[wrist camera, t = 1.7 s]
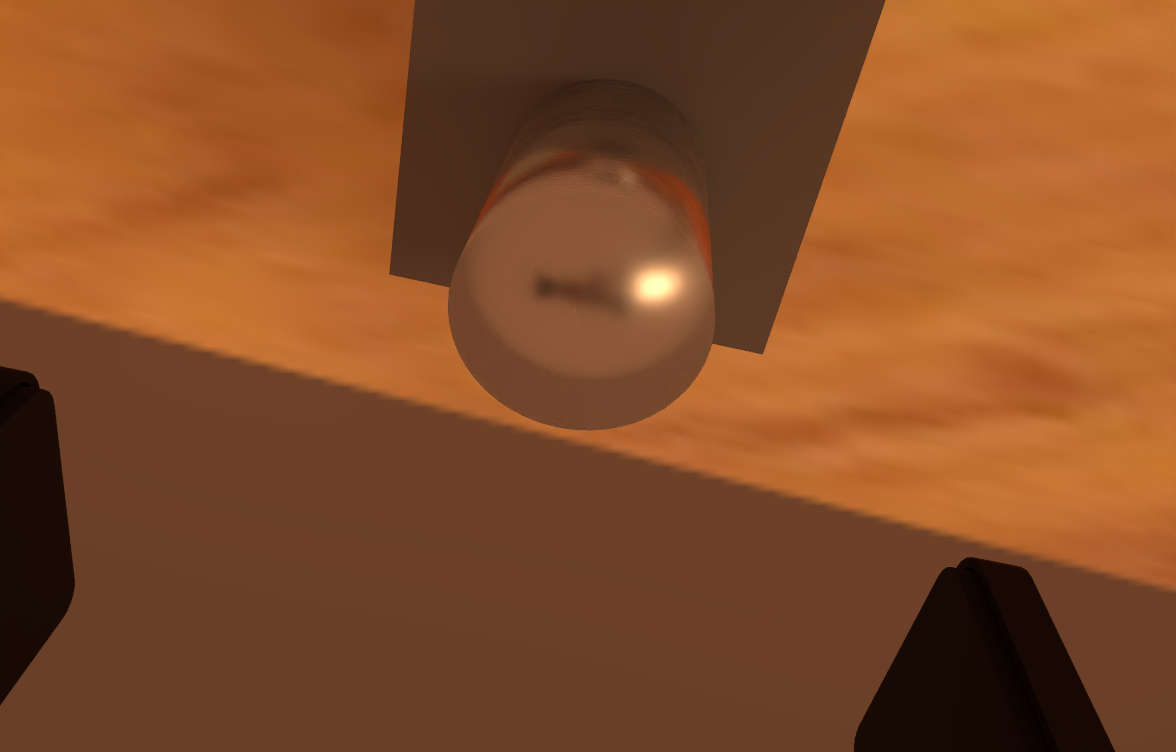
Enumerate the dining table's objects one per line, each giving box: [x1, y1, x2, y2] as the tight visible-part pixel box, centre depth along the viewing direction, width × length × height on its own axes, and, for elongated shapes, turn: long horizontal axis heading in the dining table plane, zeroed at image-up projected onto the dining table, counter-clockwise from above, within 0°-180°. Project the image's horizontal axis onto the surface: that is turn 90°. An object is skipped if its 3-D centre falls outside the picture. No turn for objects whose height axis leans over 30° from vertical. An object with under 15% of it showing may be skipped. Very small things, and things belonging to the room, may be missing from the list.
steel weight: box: [448, 79, 715, 430], centre depth 17 cm, size 4×4×6 cm
